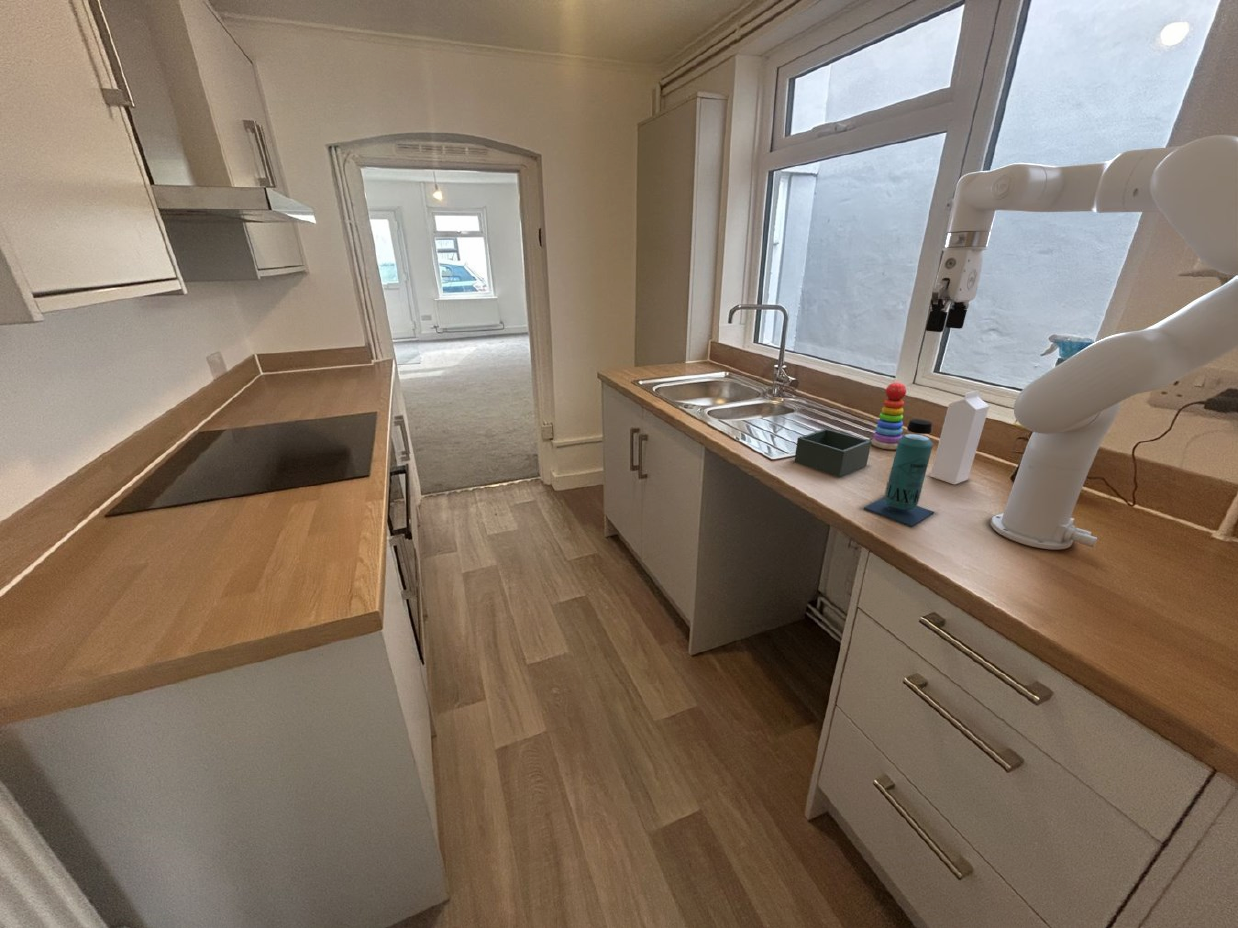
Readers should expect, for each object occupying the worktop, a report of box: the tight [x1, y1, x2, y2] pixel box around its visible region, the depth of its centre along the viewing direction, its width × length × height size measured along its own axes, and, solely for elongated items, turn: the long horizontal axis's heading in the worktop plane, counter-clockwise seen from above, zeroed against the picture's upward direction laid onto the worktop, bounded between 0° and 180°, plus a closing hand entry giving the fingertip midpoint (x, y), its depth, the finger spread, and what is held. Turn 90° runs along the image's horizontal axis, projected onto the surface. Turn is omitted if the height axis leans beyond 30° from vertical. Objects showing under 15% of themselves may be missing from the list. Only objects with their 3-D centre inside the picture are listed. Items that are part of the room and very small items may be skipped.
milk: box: [929, 389, 990, 485], centre depth 116 cm, size 6×6×22 cm
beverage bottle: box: [884, 418, 934, 510], centre depth 100 cm, size 6×7×20 cm
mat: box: [863, 496, 935, 528], centre depth 104 cm, size 10×10×1 cm
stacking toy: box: [871, 382, 907, 451], centre depth 138 cm, size 8×8×19 cm
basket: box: [793, 428, 872, 478], centre depth 128 cm, size 13×13×7 cm
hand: (944, 329), depth 104 cm, fingers open, 9 cm apart
